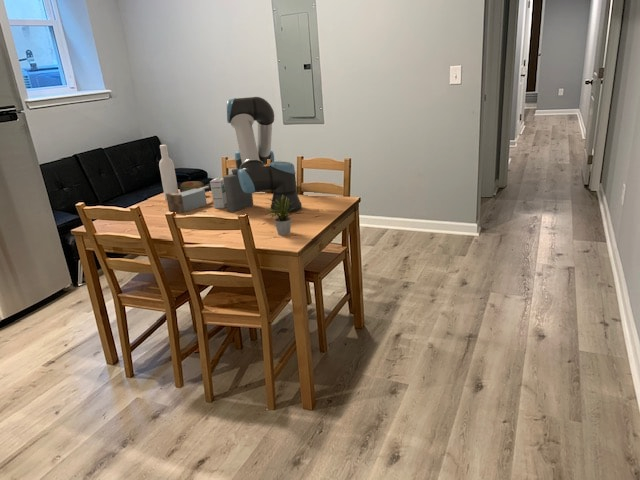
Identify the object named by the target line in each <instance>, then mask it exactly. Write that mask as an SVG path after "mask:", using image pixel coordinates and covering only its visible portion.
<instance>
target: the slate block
mask: <svg viewBox="0 0 640 480" xmlns="http://www.w3.org/2000/svg"><path fill="white" fill-rule="evenodd" d="M177 194H181V195H182V201H183V207H184V212H183V213H185V212H188V211H192V210H194V209H198V208H200V207H203V206H208V203H207V197H206V192H205V190H202V189H191V190H188V191H184V192H179V193H177Z"/></svg>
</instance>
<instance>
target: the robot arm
mask: <svg viewBox="0 0 640 480" xmlns="http://www.w3.org/2000/svg"><path fill="white" fill-rule="evenodd" d="M226 119H227V120H226V121H227V124H230V125H231V127H232V128H233V129H234V131H235V135H236V141H237V145H238V150H236V151H235V152H234V161H235V167H236V168H235V169H239V170H238V178H239V182H240V186H241V188H242V190H243V192H245V193H252V194H256V193H259V192H260V193H261V192H269V191H272V198H271V200H272V201H274V202H275V203H276V200H277V201H278V202H279V204H280V205H281V197H282V195H283V197H284V196H285V197H284V199H283V207H284V206H285V200H286V197H287V201H288V199H289V202H288V204H289V203H290V204H291V203H292V204H291V205H290V204H289V208H288V210H287V212H289V213H288V214H291V213H296V212H300V211H301V210H302V209H303V206H302V202H301V201H300V200H301V199H300V197H299V195H298V190H297V181H296V180H297V179H296V177H297V176H296V169H295V165H294V164H293V163H291V162H290V161H289V162H288V161H281V160H278V161H276V160H275V155H274V154H275V153H274V151H273V150H271V149H272V135H273V134H272V132H273V131H272V130H273V123H274V122H275V112H274V109H273V106H271V104H270V102H268V100H266V99H265V98H262V97H260V96H251V97H240V98H239V97H238V98H237V97H235V98H231V99H228V100H227V101H226ZM255 121H256V123H257V142H256V137H255V133H254V129H253V125H254V122H255ZM270 158H271V160H272V162H270V164H268V165H266V164H267V159H270ZM204 186H205V187H202V188H199V189H202V190H205V193H209V192H212V191H211V185H210V183H207V184H204ZM272 201H271V203H270V205H271V206H270V210H271V209H272V210H277V209H276V208H275V205H274V203H273V202H272ZM276 204H277V203H276ZM286 204H287V203H286ZM272 206H273V207H274V208H275V209H274V208H273V207H272ZM293 208H296V209H293ZM291 209H292V210H291ZM275 213H276V212H275ZM275 213H274V212H272V214H275ZM276 214H277V213H276Z"/></svg>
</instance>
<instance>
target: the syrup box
mask: <svg viewBox="0 0 640 480" xmlns="http://www.w3.org/2000/svg"><path fill="white" fill-rule="evenodd" d="M209 184H210V185H211V191H210V192H211V195H212V203H213V207H214V208H213V209H225V208H227V202H226V195H225V187H224V180H223V177H216V178H213V179H211V180H210V181H209Z"/></svg>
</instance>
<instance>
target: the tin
mask: <svg viewBox="0 0 640 480" xmlns="http://www.w3.org/2000/svg"><path fill="white" fill-rule="evenodd" d="M202 187H205V184H204V183H203V182H201V181H200V180H199V181H197V180H196V181H195V180H194V181H183V182H182V183H180V186H179V191H180V192H179V193H181V192H184V191H188V190H191V189H199V188H202Z"/></svg>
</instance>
